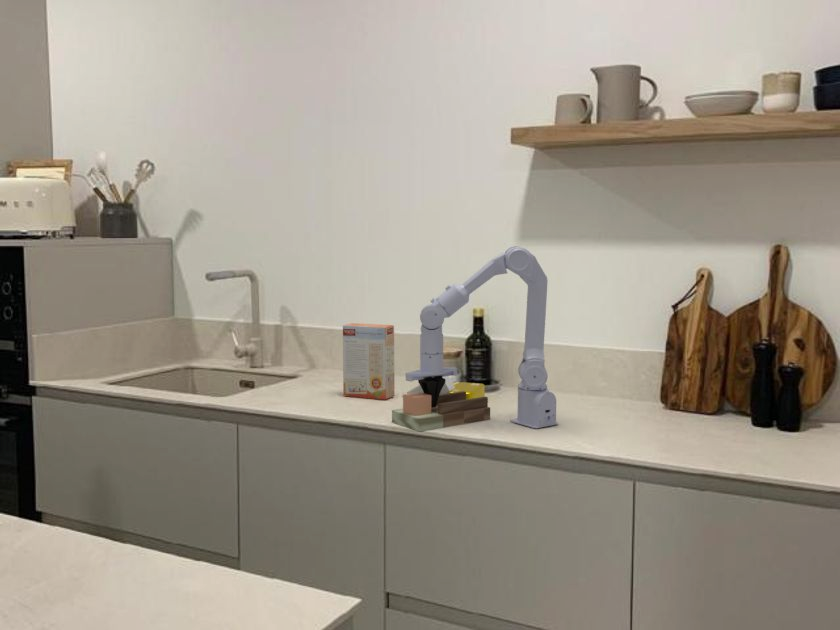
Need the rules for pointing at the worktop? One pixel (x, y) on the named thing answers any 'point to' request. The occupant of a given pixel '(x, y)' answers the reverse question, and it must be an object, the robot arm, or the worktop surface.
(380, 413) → the worktop surface
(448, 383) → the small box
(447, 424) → the trap channel
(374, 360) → the cracker box
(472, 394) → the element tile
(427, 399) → the block
